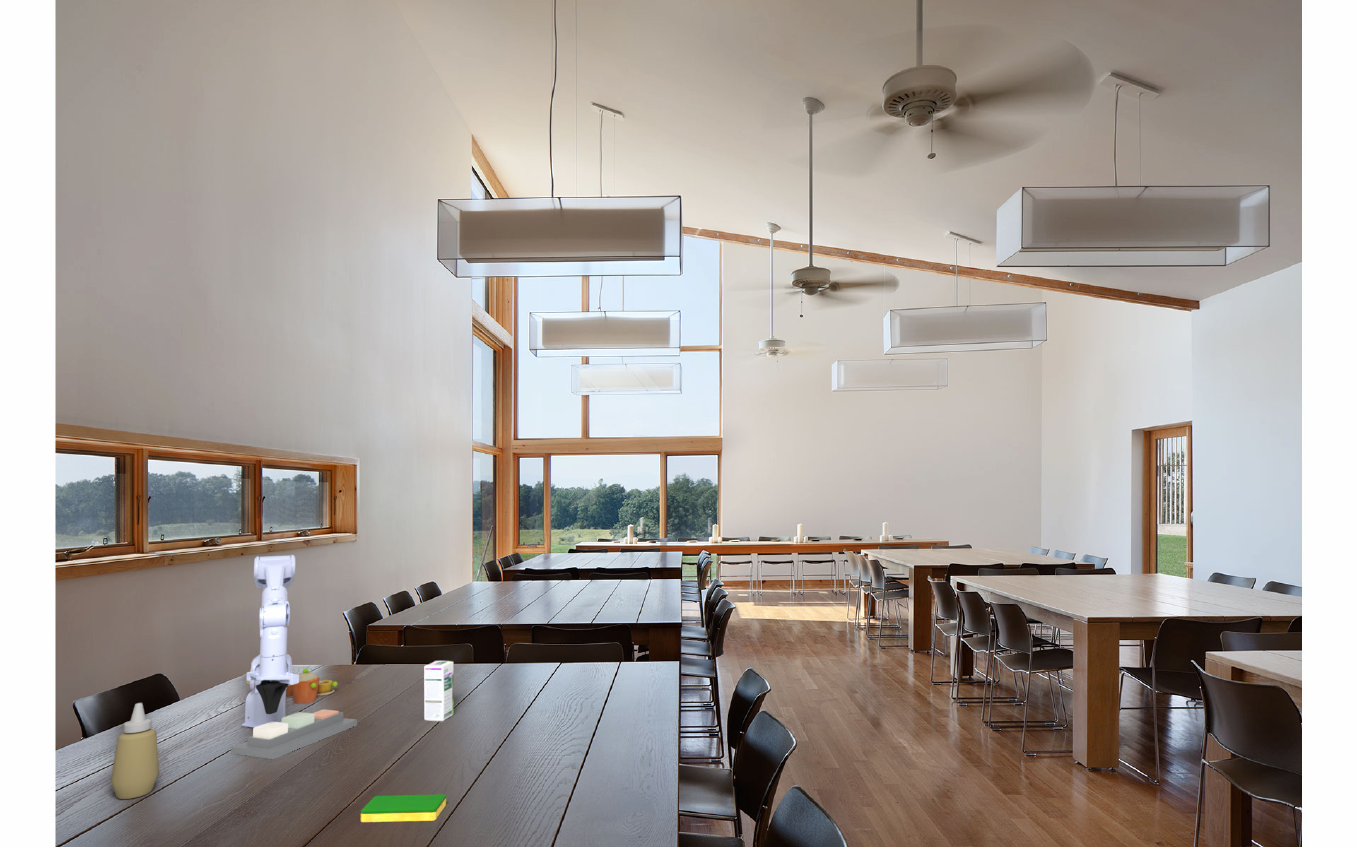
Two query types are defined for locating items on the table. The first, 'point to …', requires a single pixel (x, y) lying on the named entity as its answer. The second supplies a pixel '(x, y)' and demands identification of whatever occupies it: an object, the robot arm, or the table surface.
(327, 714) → the terracotta key
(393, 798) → the dish sponge
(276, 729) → the cream key
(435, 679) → the syrup box
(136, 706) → the squeeze bottle
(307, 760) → the table surface
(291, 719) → the sage key
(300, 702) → the toy tea set
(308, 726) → the stepped grey tray
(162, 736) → the table surface
